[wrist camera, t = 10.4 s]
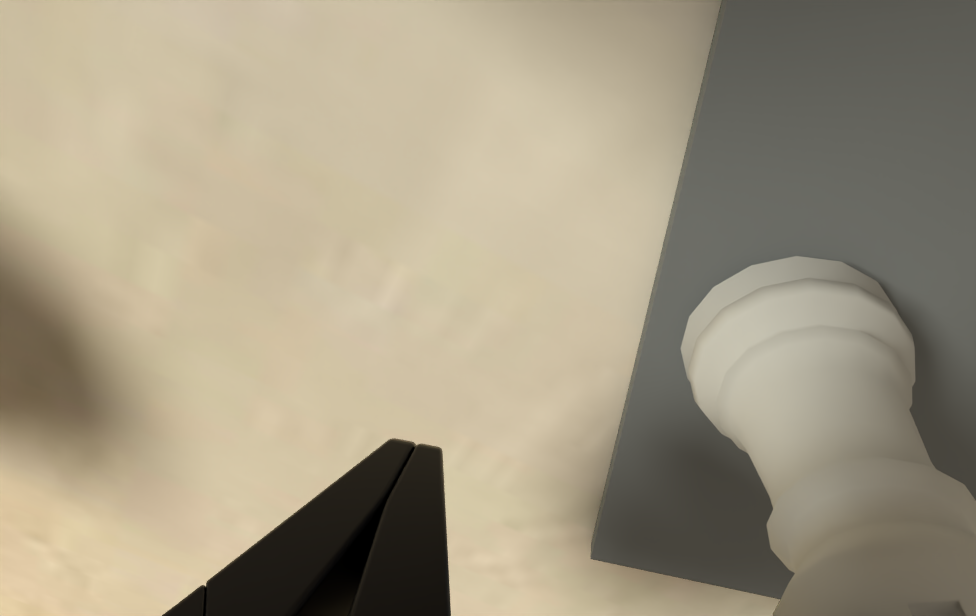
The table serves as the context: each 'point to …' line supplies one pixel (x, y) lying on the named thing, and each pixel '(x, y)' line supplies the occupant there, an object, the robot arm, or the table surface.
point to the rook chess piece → (834, 440)
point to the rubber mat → (804, 253)
